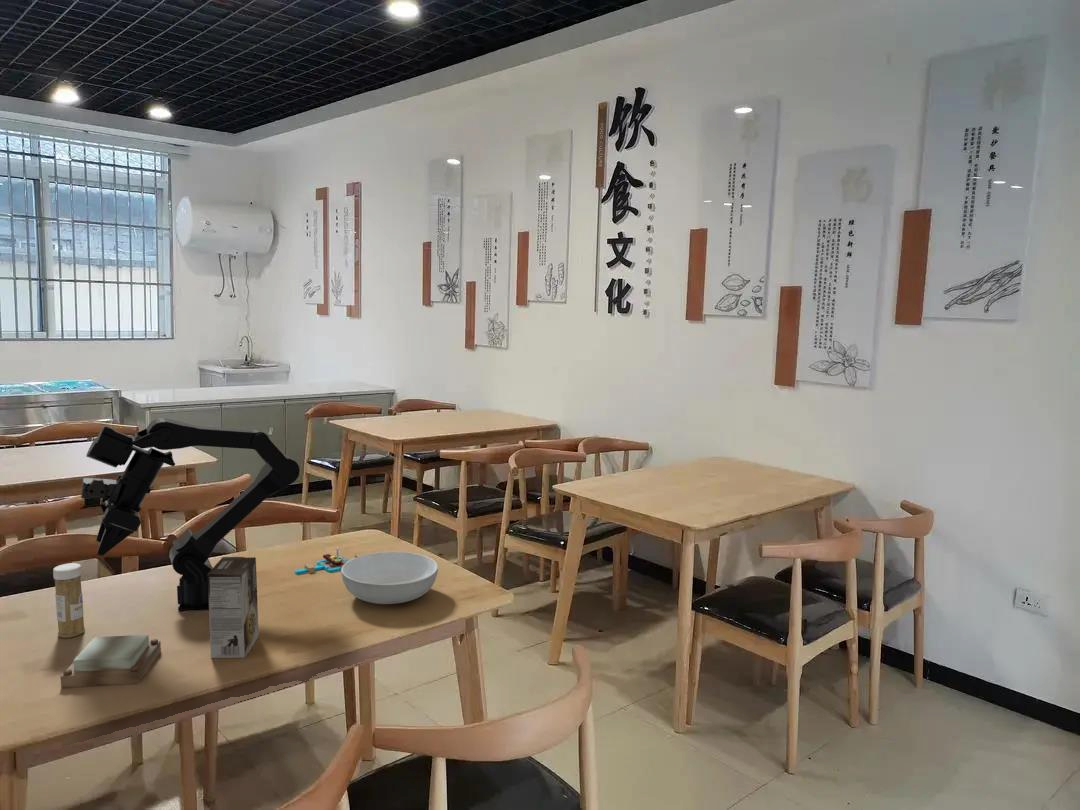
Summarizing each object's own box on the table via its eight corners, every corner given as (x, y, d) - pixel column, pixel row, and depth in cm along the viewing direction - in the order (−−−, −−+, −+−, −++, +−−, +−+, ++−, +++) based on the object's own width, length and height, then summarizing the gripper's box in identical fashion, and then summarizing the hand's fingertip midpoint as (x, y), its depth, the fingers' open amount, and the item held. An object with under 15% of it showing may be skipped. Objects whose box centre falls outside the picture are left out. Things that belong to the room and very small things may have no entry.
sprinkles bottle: (85, 635, 148) (81, 567, 146) (57, 640, 145) (53, 572, 143) (84, 626, 152) (80, 560, 150) (57, 631, 149) (52, 564, 147)
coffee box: (225, 637, 148) (222, 556, 146) (259, 636, 149) (257, 555, 147) (209, 659, 139) (205, 573, 137) (245, 658, 140) (243, 572, 138)
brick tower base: (160, 651, 142) (159, 630, 141) (138, 683, 130) (137, 660, 130) (90, 654, 140) (88, 634, 139) (61, 687, 128) (59, 665, 128)
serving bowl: (371, 624, 156) (371, 591, 155) (324, 593, 171) (324, 563, 170) (456, 599, 169) (456, 569, 168) (406, 573, 185) (406, 545, 184)
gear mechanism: (287, 569, 187) (302, 580, 180) (286, 548, 186) (301, 558, 179) (363, 554, 199) (380, 564, 192) (362, 533, 199) (379, 543, 191)
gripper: (96, 452, 158) (56, 521, 156) (98, 470, 143) (54, 547, 140) (150, 473, 164) (113, 540, 162) (158, 493, 148) (117, 567, 146)
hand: (99, 548), depth 153 cm, fingers open, 9 cm apart
